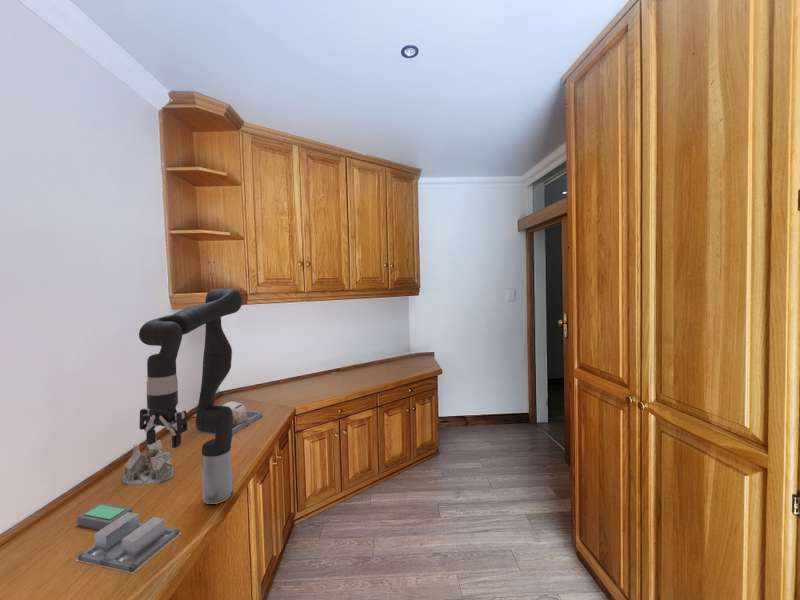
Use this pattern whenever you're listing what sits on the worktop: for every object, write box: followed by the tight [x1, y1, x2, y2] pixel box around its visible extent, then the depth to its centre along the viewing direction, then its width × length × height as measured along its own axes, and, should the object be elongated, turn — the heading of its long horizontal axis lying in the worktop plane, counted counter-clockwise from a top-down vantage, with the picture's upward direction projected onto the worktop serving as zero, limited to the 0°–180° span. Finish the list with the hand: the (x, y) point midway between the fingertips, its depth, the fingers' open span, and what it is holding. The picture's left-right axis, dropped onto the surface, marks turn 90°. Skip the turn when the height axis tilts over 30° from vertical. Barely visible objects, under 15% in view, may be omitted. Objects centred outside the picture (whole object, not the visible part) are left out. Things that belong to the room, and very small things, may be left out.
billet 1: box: [94, 512, 140, 557], centre depth 108 cm, size 10×4×6 cm, turn 167°
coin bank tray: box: [195, 410, 263, 435], centre depth 201 cm, size 27×20×2 cm
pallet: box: [75, 521, 182, 574], centre depth 107 cm, size 16×19×2 cm
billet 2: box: [122, 516, 166, 563], centre depth 106 cm, size 4×10×6 cm, turn 166°
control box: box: [77, 502, 133, 531], centre depth 118 cm, size 7×12×4 cm, turn 77°
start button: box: [84, 504, 125, 521], centre depth 118 cm, size 5×10×2 cm, turn 77°
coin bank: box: [221, 400, 248, 429], centre depth 199 cm, size 16×17×13 cm
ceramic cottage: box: [121, 438, 174, 486], centre depth 146 cm, size 16×16×15 cm
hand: (163, 445), depth 108 cm, fingers open, 8 cm apart
